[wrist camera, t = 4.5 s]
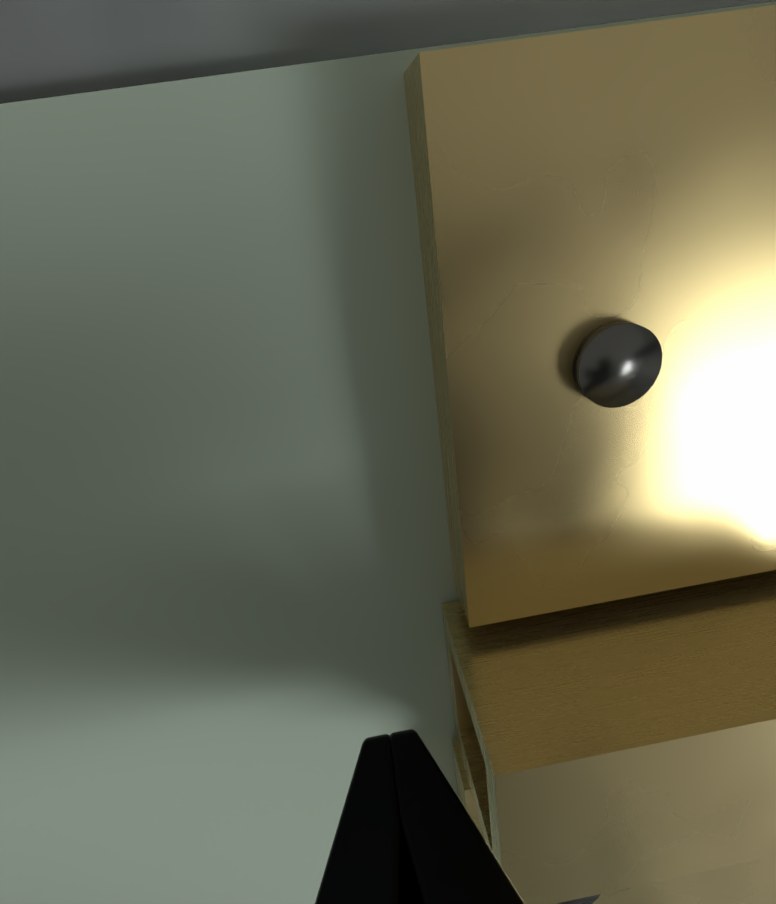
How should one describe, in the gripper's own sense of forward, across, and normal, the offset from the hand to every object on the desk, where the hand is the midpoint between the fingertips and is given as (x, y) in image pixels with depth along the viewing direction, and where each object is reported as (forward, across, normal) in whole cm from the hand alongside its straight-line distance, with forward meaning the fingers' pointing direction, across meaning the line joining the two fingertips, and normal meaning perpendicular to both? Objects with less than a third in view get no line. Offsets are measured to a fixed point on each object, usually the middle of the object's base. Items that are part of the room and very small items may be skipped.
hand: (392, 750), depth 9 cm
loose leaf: (+1, -6, +4) cm, 7 cm away
